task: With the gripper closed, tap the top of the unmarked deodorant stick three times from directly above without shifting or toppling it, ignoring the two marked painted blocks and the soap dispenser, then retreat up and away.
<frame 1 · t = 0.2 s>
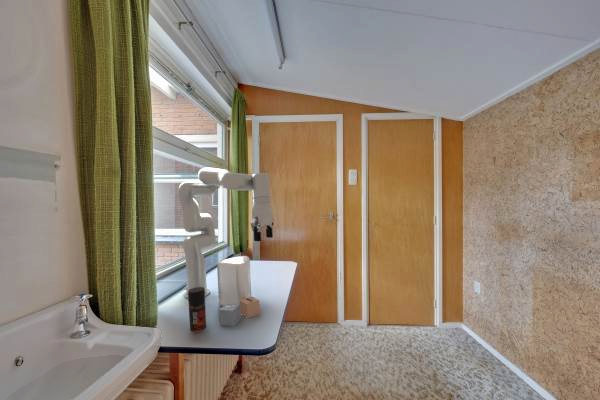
hand: (263, 239, 118), 31 cm above the table, fingers open, 9 cm apart
terracotta block marked: (249, 313, 114), on the table
deodorant: (198, 328, 103), on the table
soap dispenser: (240, 303, 126), on the table
slate block marked: (230, 321, 107), on the table
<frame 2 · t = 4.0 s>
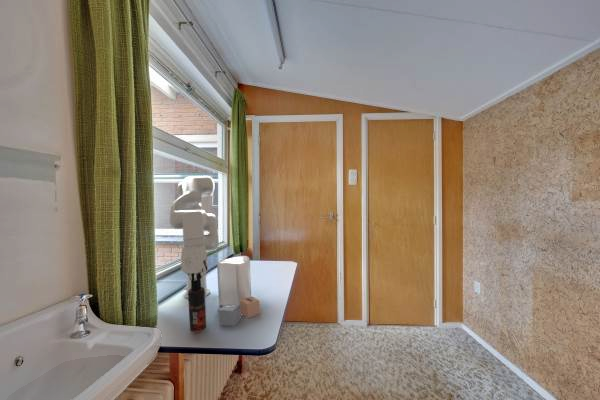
hand: (196, 289, 103), 15 cm above the table, fingers closed
deodorant: (198, 328, 103), on the table, touching gripper
everything else where it was.
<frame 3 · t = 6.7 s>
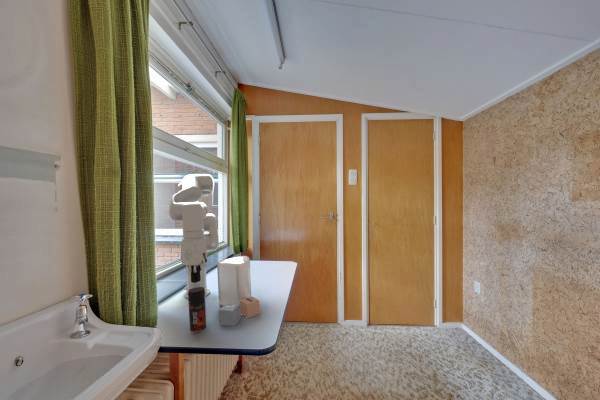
hand: (195, 281, 103), 18 cm above the table, fingers closed
deodorant: (198, 328, 103), on the table
everything else where it was.
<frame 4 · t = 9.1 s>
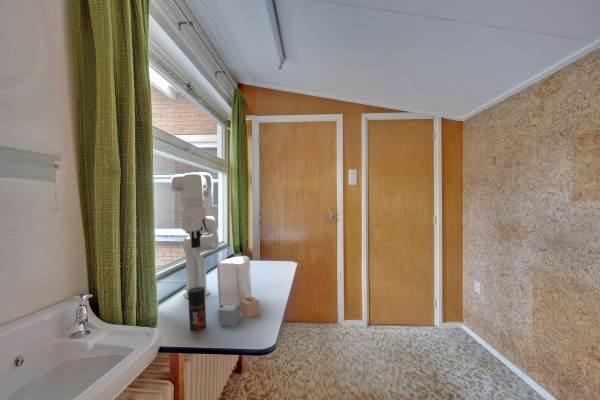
hand: (196, 247, 111), 30 cm above the table, fingers closed
nothing on the table moved.
at the end: deodorant moved 0.2 cm from its start; deodorant tilted 0°; deodorant touching table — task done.
